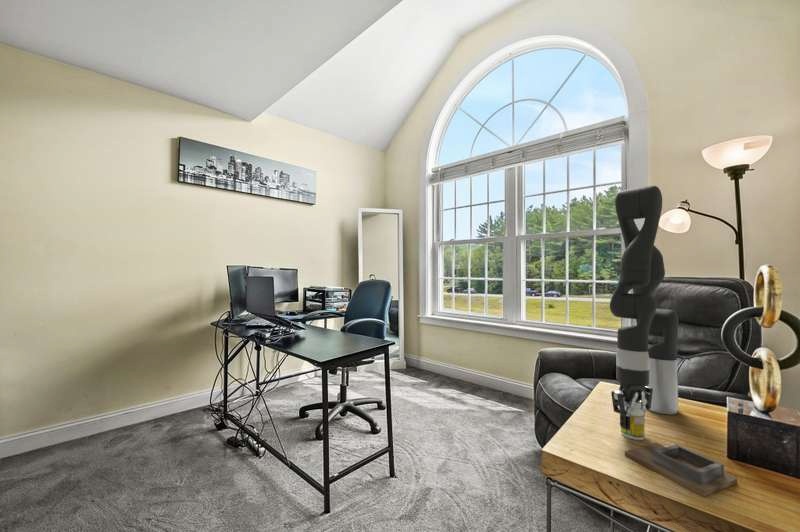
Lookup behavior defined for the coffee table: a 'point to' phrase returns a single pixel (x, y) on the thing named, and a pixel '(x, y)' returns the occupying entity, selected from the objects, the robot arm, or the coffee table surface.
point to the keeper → (684, 467)
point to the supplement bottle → (635, 423)
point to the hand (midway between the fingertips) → (632, 426)
